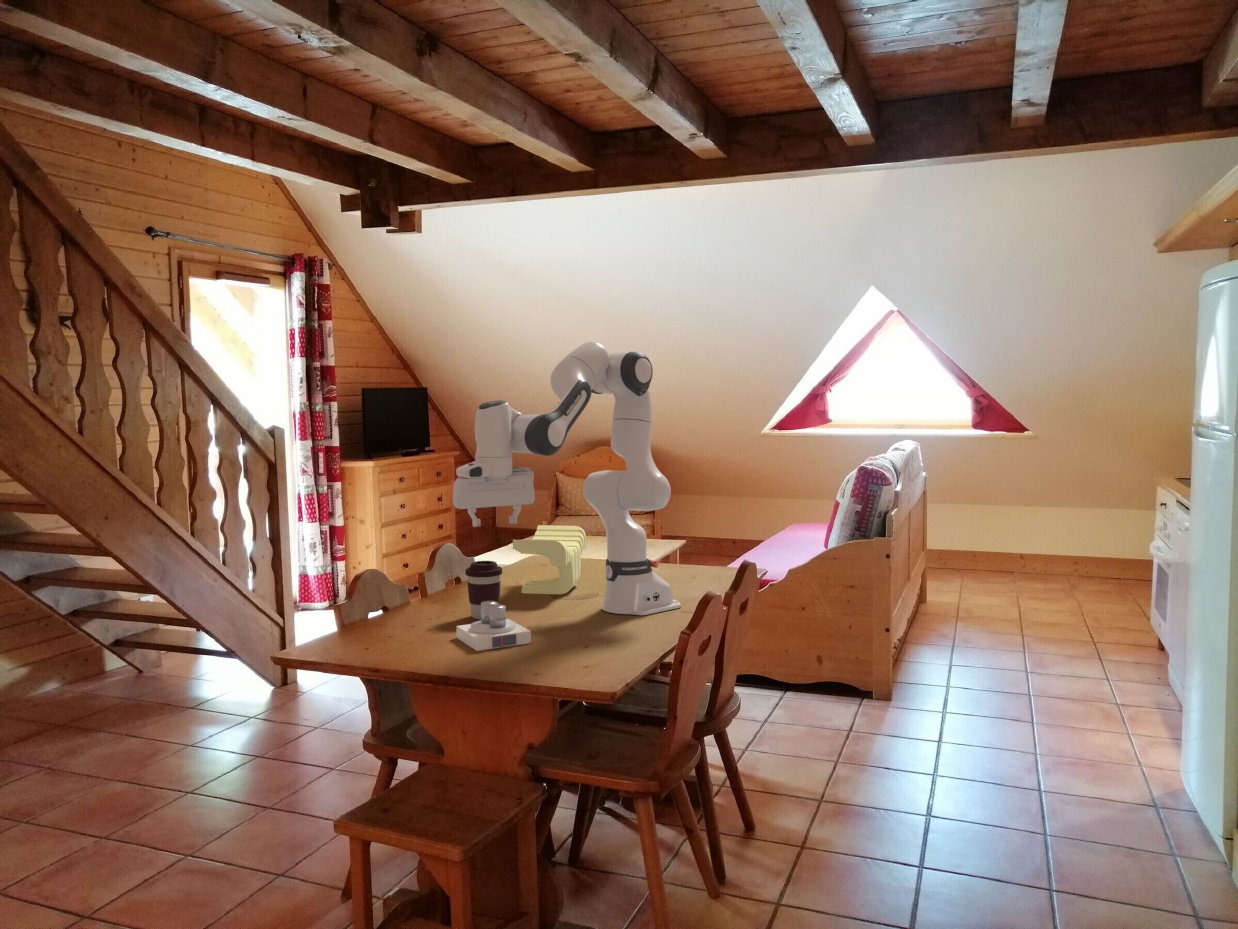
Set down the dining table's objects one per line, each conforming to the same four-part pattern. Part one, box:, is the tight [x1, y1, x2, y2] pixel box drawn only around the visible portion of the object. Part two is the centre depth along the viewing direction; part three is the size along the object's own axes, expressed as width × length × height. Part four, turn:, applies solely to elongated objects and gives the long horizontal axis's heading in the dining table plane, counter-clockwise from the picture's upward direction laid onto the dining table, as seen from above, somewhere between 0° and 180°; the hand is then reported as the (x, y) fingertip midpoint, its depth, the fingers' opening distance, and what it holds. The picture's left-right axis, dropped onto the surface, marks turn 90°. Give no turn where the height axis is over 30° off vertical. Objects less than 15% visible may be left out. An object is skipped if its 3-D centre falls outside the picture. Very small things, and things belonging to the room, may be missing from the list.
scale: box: [456, 618, 532, 652], centre depth 234 cm, size 14×15×4 cm
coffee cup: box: [465, 560, 503, 621], centre depth 258 cm, size 10×10×15 cm
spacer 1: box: [480, 601, 497, 624], centre depth 236 cm, size 4×4×5 cm
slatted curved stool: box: [512, 524, 587, 595], centre depth 293 cm, size 30×16×18 cm, turn 170°
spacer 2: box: [489, 604, 507, 629], centre depth 231 cm, size 4×4×5 cm
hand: (495, 525), depth 230 cm, fingers open, 8 cm apart
